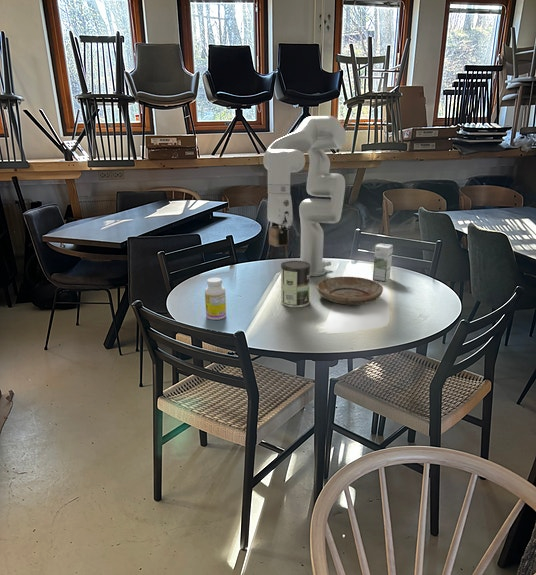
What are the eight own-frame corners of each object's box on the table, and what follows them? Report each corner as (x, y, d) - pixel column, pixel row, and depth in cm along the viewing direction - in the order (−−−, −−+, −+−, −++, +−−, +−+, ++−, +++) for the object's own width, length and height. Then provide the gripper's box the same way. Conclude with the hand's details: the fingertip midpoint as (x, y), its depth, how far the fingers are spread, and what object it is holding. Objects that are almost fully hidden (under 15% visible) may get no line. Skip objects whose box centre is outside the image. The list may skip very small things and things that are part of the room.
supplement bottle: (208, 312, 146) (206, 276, 142) (227, 312, 146) (226, 276, 142) (204, 320, 140) (202, 283, 135) (225, 320, 140) (223, 283, 135)
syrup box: (390, 278, 180) (393, 244, 175) (385, 282, 175) (388, 247, 170) (376, 276, 183) (379, 242, 178) (372, 280, 178) (374, 245, 173)
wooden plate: (334, 284, 174) (335, 272, 172) (391, 295, 161) (392, 283, 159) (304, 301, 156) (305, 288, 154) (366, 316, 143) (367, 301, 141)
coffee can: (308, 297, 159) (309, 260, 155) (310, 307, 150) (311, 268, 145) (280, 297, 160) (280, 260, 155) (280, 307, 150) (280, 268, 145)
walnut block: (281, 242, 154) (281, 225, 152) (288, 245, 150) (288, 228, 148) (268, 243, 151) (268, 226, 149) (275, 246, 147) (275, 229, 145)
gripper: (302, 191, 139) (301, 246, 145) (276, 186, 153) (276, 236, 159) (282, 193, 136) (281, 249, 142) (257, 187, 150) (258, 239, 156)
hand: (278, 242), depth 150 cm, fingers closed on walnut block, 5 cm apart
